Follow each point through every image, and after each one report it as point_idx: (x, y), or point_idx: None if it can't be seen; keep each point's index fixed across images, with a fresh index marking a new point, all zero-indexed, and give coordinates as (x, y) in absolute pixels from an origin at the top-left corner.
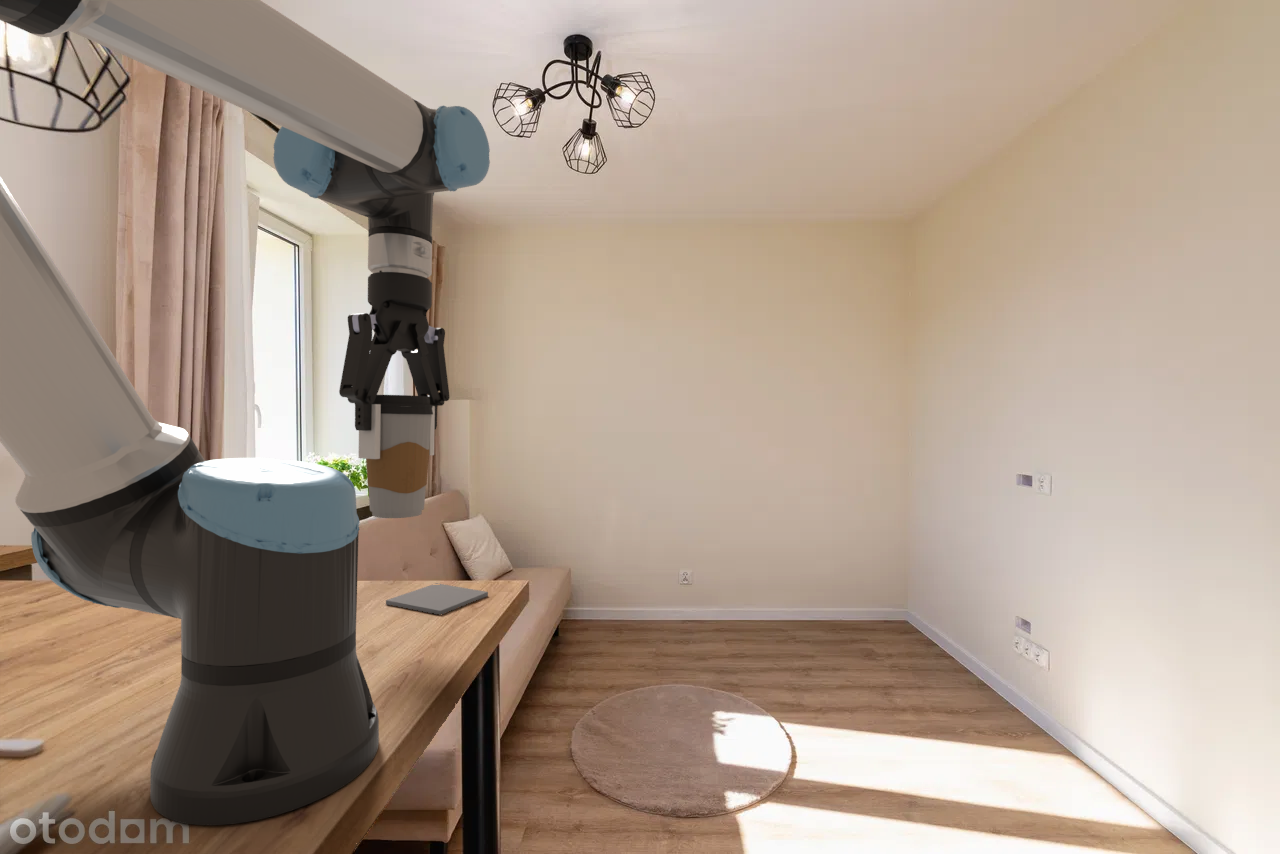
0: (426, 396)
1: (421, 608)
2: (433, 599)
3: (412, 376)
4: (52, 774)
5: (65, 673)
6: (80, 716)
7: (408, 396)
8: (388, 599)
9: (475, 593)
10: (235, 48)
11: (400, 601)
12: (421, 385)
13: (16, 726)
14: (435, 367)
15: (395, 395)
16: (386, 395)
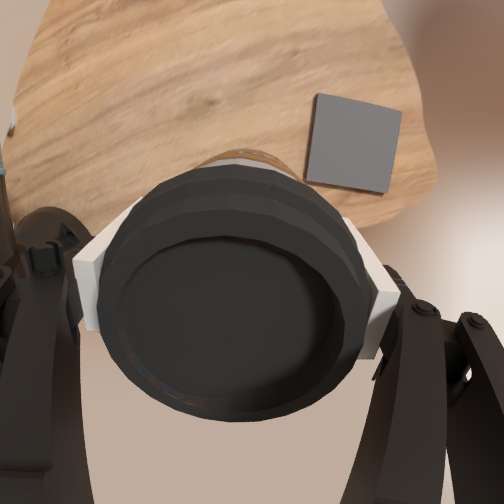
0: (258, 420)
1: (310, 151)
2: (341, 147)
3: (395, 400)
4: (8, 166)
5: (66, 12)
6: (34, 102)
7: (173, 406)
8: (322, 94)
9: (377, 182)
10: None
11: (320, 113)
12: (381, 392)
13: (18, 86)
14: (467, 469)
15: (137, 384)
16: (116, 362)
